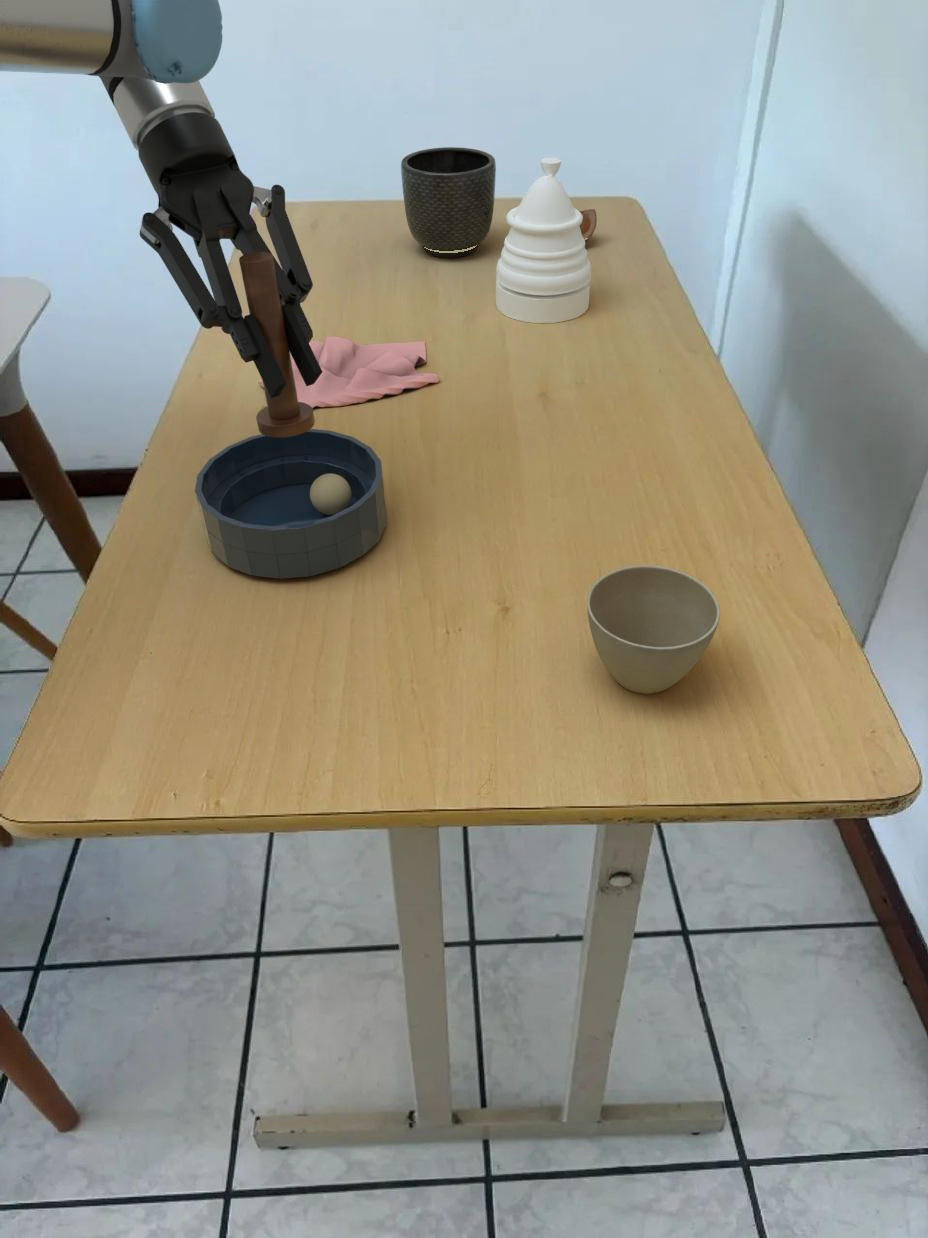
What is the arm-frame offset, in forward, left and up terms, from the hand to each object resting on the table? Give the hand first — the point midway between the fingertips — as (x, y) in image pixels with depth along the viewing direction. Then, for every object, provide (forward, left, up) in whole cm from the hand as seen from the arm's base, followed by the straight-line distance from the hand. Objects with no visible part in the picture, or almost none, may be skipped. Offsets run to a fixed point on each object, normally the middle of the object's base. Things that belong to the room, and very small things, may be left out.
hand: (296, 384), depth 83 cm
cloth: (+5, +32, -16) cm, 36 cm away
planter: (+21, +72, -16) cm, 77 cm away
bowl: (-2, 0, -15) cm, 15 cm away
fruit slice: (+39, +71, -16) cm, 83 cm away
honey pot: (+31, +49, -16) cm, 61 cm away
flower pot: (+26, -24, -16) cm, 38 cm away
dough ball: (+2, +2, -13) cm, 13 cm away
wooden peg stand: (-2, +3, -5) cm, 6 cm away
